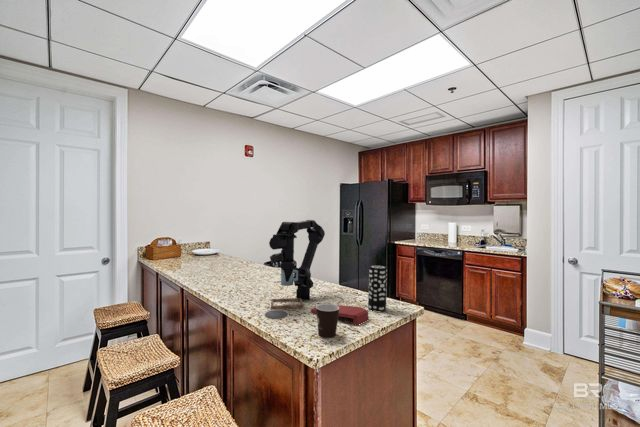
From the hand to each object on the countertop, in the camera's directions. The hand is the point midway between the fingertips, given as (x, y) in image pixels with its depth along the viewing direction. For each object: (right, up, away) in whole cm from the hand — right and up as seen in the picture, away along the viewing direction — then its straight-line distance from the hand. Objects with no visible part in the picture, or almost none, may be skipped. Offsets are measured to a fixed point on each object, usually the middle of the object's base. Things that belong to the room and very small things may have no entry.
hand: (287, 280), depth 143 cm
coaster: (-3, -12, -14) cm, 19 cm away
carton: (+24, -13, -13) cm, 31 cm away
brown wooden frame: (0, -12, 0) cm, 12 cm away
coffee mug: (+19, -13, -32) cm, 39 cm away
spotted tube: (+43, -13, -3) cm, 45 cm away
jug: (+1, -2, 0) cm, 2 cm away
